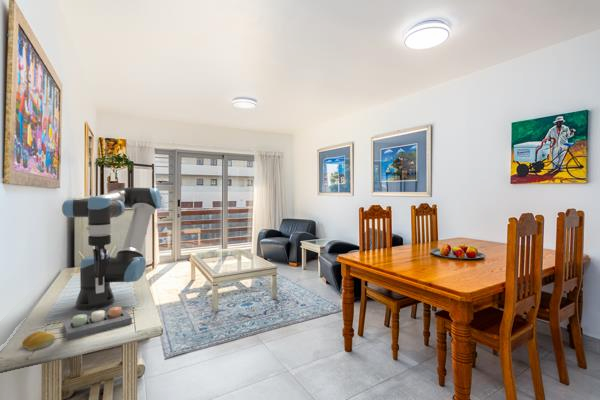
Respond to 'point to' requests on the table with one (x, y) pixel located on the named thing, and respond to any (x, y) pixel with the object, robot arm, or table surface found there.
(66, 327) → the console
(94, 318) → the cream button
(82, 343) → the table surface
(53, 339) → the bread roll
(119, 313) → the brown egg
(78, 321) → the pale green rounded dome
